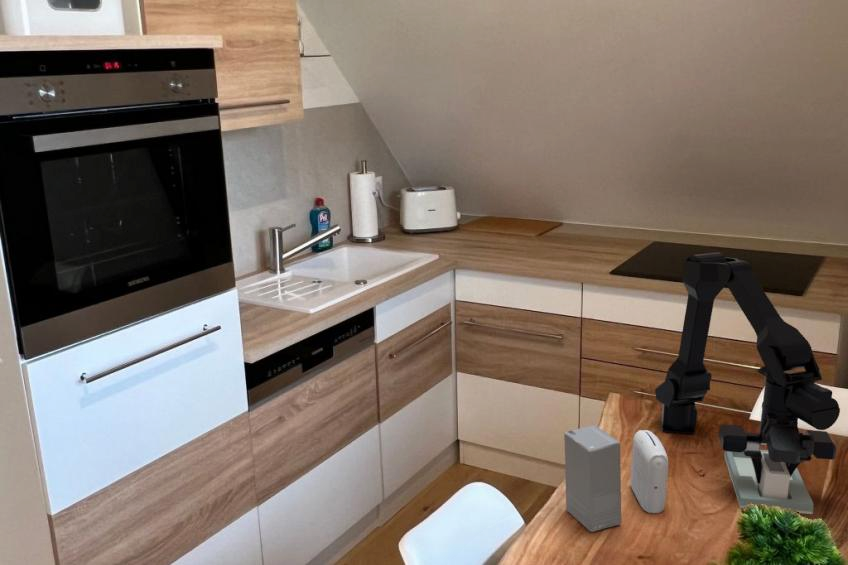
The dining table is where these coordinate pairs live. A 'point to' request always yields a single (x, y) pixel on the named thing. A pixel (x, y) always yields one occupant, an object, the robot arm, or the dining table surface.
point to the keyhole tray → (749, 491)
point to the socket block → (773, 478)
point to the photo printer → (649, 471)
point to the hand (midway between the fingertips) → (770, 483)
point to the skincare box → (593, 477)
